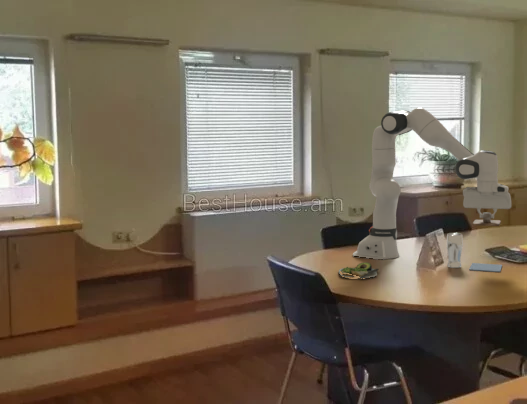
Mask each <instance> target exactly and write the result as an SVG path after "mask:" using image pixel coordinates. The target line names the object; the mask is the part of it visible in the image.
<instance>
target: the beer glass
mask: <svg viewBox="0 0 527 404" xmlns="http://www.w3.org/2000/svg"><path fill="white" fill-rule="evenodd" d="M463 240H464V239H463V233H460V232H449V233H447V235H446V250H447V254H448V255H447V256H448V262H447V267H448V268H451V269H460V268H462V262H461V260H462V258H461V257H462V251H463V246H464V242H463Z"/></svg>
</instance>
